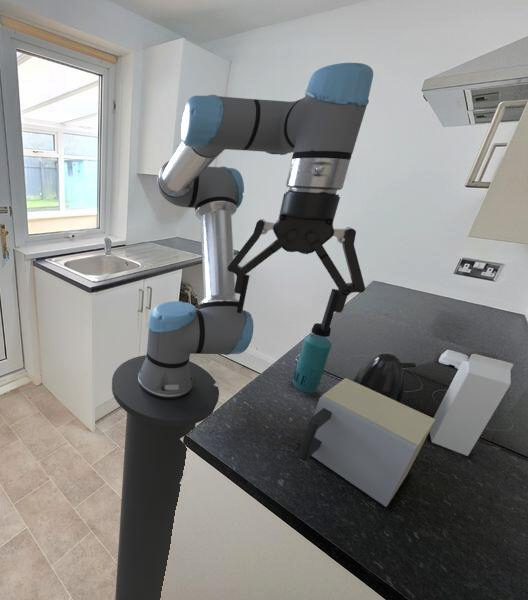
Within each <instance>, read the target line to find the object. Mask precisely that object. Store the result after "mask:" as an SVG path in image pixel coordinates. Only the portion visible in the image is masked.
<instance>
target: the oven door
mask: <svg viewBox="0 0 528 600" xmlns="http://www.w3.org/2000/svg"><path fill="white" fill-rule="evenodd" d="M314 411H315V412H314V414H313V416H310V418H309V420H308V422H307V426H306V429H305V431H304V435H303V437H302V441H301V443H300V446H299V448H298V449H299V450H298V453H297V457H298V459H300V460H302V461H307V460H308V459H309V458H310V457H313V458H314V459H315V460H317V461H318V462H320V463H321V464H323V465H324V466H326V467H327V468H329V469H330V470H331V471H333V472H334V473H335V474H337V475H339V476H340V477H342V478H344V480H346V481H348V482H349V483H350V484H352V485H353V486H354V487H356V488H357V489H359V490H360V491H362V492H364V493H365V494H366V495H368V496H369V497H370V498H372V499H373V500H375V501H376V502H378V503H380V504H381V506H384V508H387V507H388V505H389V504H390V502H391V501H392V499H393V498H392V496H393V494H394V492H395V490H396V488H397V486H398V484H399V482H400V480H401V478H402V476H403V475H404V473H405V471H406V469H407V467H408V465H409V463H410V461H411V459H412V457H413V455H414V453H415V451H416V449H417V446H415V445H414V444H412V443H410V442H408V441H406V440H404V439H402V438H400V437H399V436H397V435H395V434H393V433H391V432H389V431H387V430H385V429H384V428H382V427H380V426H378V425H376V424H374V423H372V422H370V421H368V420H367V419H365V418H363V417H361V416H359V415H357V414H355V413H353V412H352V411H350V410H348V409H346V408H344V407H342V406H340V405H338V404H337V403H335V402H333V401H331V400H329V399H327V398H325V397H323V396H322V395H321V396H319V399H318V402H317V405H316V407H315V410H314ZM393 497H394V496H393ZM391 498H392V499H391ZM390 500H391V501H390Z"/></svg>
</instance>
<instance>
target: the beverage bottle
mask: <svg viewBox="0 0 528 600" xmlns="http://www.w3.org/2000/svg"><path fill="white" fill-rule="evenodd" d="M321 324H322V323H319V322H317V323H314V324H313V325H312V328H311V331H310V332H311V334H308V335H306V336H304V339H303V343H302V347H301V349H300V352H299V356H298V361H297V362H296V366H295V368H294V373H293V376H292V379H291V380H292V384H293V387H295V388H296V389H298V390H300V391H302V392H306V393H315V392H317V391H318V389H319V386H320V384H321V380H322V376H323V374H324V371H325V370H324V369H325V366H326V363H327V360H328V357H329V354H330V351H331V348H332V342H331V341H330V340H329V338H328V337H330V335H331V331H332V328H331V326H330V327H329V330H328V332H326V331H323V330H322V326H321Z"/></svg>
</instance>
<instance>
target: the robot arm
mask: <svg viewBox="0 0 528 600" xmlns="http://www.w3.org/2000/svg"><path fill="white" fill-rule="evenodd" d="M373 78H374V70H373V68H372V67H371V66H370V65H368V64H365V63H361V62H340V63H334V64H329V65H326V66H323V67H321V68H319V69H317V70H315V71H314V72H313V73H312V75H311V77H310V78H309V81H308V83H307V86H306V89H305V91H304V97H302V98H300V99H297V100H295V101H287V100H286V101H285V100H273V99H260V98H259V99H258V98H245V97H234V96H233V97H232V96H221V95H220V96H219V95H217V94H209V95H193V96H191V97H189V98H188V100H187V101H186V103H185V106H184V111H183V114H182V119H181V129H180V137H181V142H180V143H179V146H178V147H177V149H176V150H175V152H174V154H173V155H172V157H171V159H170V160H169V161H166V162H165V163H164V164H163V165H162V166H161V168H160V170H159V172H158V174H157V180H156V181H157V183H156V184H157V188H158V191H159V193H160V195H161V196H162V197H163V199H164V200H165V201H167V202H168V203H170V204H172V205H173V206H174V205H175V206H177V207H180V208H191V209H194V216H195V217H196V218H197V219H198V220H199V221H200V233H201V234H200V235H201V238H200V239H201V240H200V241H201V258H202V259H201V262H202V263H201V264H202V265H201V266H202V289H203V290H202V291H203V298H202V300H201V301H199V303H198V305H197V307H198V309H196V307H195V305H193V304H192V303H190V302H183V301H179V300H177V301H176V300H173V301H166V302H162V303H159V304H158V305H155V306H154V307H153V308H152V310H151V311H150V314H149V321H148V324H147V327H148V332H147V344H146V354H145V355H146V358H145V360H144V363H143V365H142V367H141V369H140V371H139V374H138V384H139V386H140V388H141V389H142V390H143V391H144V392H145V393H147V394H149V395H150V396H153V397H155V398H159V399H164V400H176V399H180V398H183V397H185V396H187V395H188V394H189V393H190V392H191V390H192V384H193V380H192V375H191V371H190V366H189V361H190V357H191V355H192V354H193V355H225V356H229V355H239V354H240V355H241V354H243V353H244V352H245V351H247V349H248V348H249V347H250V344H251V342H252V339H253V335H254V319H253V317H252V314H251V313H250V312H249V311H247V310H245V309H244V305H245V301H246V296H247V290H248V285H249V281H250V277H251V276H250V274H248V273H249V272H251V271H252V270H254V269H255V268H256V267H258V266H259V265H260V264H262V263H263V262H264V261H265V260H267V259H269V258H270V257H271V256H272V255H274V254H275V253H277V252H278V251H279V250H281V249H283V250H284V251H286V252H287V253H297V252H298V253H299V254H303V255H309V254H313V253H314V252H315V254H316V255H317V257H318V259H319V261H320V262H321V264H322V265H323V266H324V268H325V269H326V271H327V273H328V274H329V276H330V278H331V279H332V281H333V282H334V284H335V286H336V287H337V289H336V288H331V292H330V295H329V297H328V301H327V304H326V308H325V311H324V314H323V318H322V319H321V320H322V321H321V323H320V324H321V326H322V330H323V331H326V332H328V330H329V327H330V328H331V323H332V320H333V316H334V314H335V313H339V314H341V313H342V312H343V311H344V308H345V306H346V305H345V304H346V302H347V299H348V296H349V295H351V294H353V293H359V294H361V293H364V292H365V291H366V285H365V281H364V278H363V275H362V274H363V273H362V270H361V267H360V263H359V259H358V255H357V252H356V248H355V240H356V235H357V231H356V229H354V228H353V227H351V226H348V227H345V228H334V220H335V217H336V213H337V210H338V206H339V203H340V199H341V196H340V194H337V192H338V191H342V189H343V188H344V185H345V181H346V178H347V174H348V170H349V167H350V162H351V160H352V156H353V155H352V154H353V153H354V150H355V146H356V144H357V139H358V136H359V132H360V129H361V126H362V122H363V119H364V116H365V113H366V109H367V106H368V105H369V104H370V103H369V102H370V101H369V100H370V99H369V98H370V94H371V93H370V92H371V88H372V83H373ZM225 150H231V151H250V152H263V153H266V154H269V155H280V156H284V155H288V154H291V153H292V157H291V160H290V166H289V168H288V169H289V170H288V175H287V180H286V185H285V186H286V187H287V188H289V189H288V191H285V193H283V197H282V200H281V206H280V210H279V214H278V219H277V220H276V222H273V221H272V222H271V221H268V220H267V221H266V220H265V219H264V218H260V219H259V220H257V222H256V223H255V227H254V230H253V233H252V234H251V236H250V237H249V238H248V240H247V241H246V242H245V244H244V245H243V246H242V247H241V249H240V250H239V251H238V253H237V254H236V255H235V253H234V235H233V218H232V217H233V216H234V215H235V214H236V212H237V210H238V209H239V208H240V206H241V205H242V203H243V199H244V192H245V183H244V178H243V175H242V174H241V172H240V171H239V170H238V169H236V168H233V167H227V166H222V165H221V166H211V164H212V163H213V162H214V161H215V160H216V158H218V157H219V156H220V155H221V154H222V153H224V151H225ZM269 231H273V233H274V235H275V237H276V239H275V240H274V241H273V242H271V244H269V245H268V246H267V247H266V248H264V249H262V251H260V252H259V253H258V254H256V255H255V256H254V257H253V258H251V259H250V260H249V261H248V262H246V263H245V264H244V265H242V266H240V263H241V262H242V261H243V260H244V258H245V257H246V256H247V255H248V253H249V252H250V250H251V249H252V248H253V247H254V245H255V244H256V243H257V241H258V240H259V239H260V237H261V236H262V235H267V234H268V232H269ZM333 237H335V238H336V240H337V242H338V243H339V244H341V246H342V251H343V254H344V257H345V261H346V266H347V270H348V273H349V276H350V280H351V282H346V281H345V279H344V278H343V276H342V274H341V273H340V271H339V270H338V268H337V267H336V265H335V263H334V262H333V260H332V259H331V256H329V253H328V252H327V250H326V248H325V247H324V246H323V245H324V244H326V243H327V242H328V241H329V240H330V239H332V238H333ZM237 294H238V295H239V298H238V296H237Z"/></svg>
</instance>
